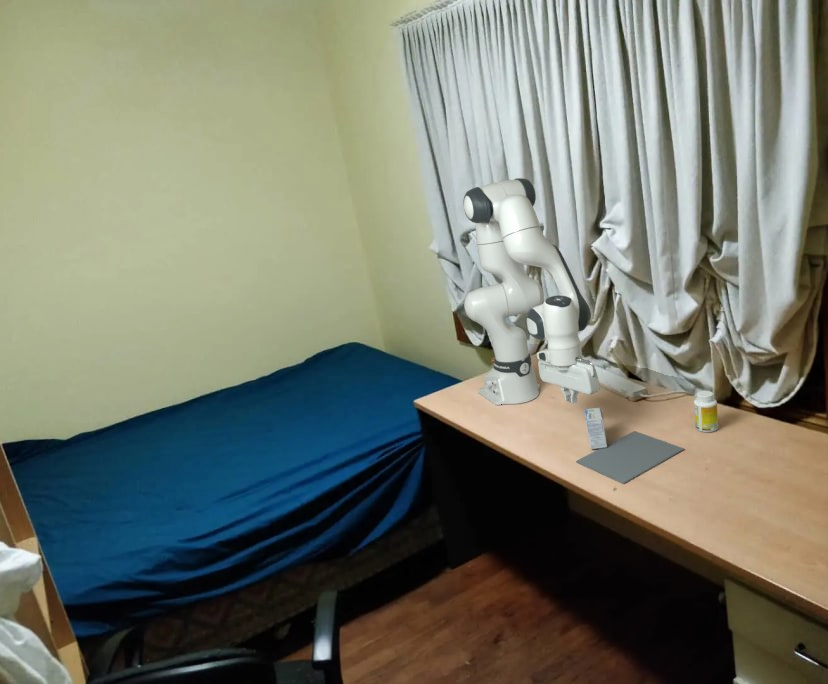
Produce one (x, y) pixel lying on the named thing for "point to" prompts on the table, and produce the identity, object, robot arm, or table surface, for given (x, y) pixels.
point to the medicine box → (595, 428)
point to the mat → (629, 456)
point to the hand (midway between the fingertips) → (571, 401)
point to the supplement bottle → (706, 412)
